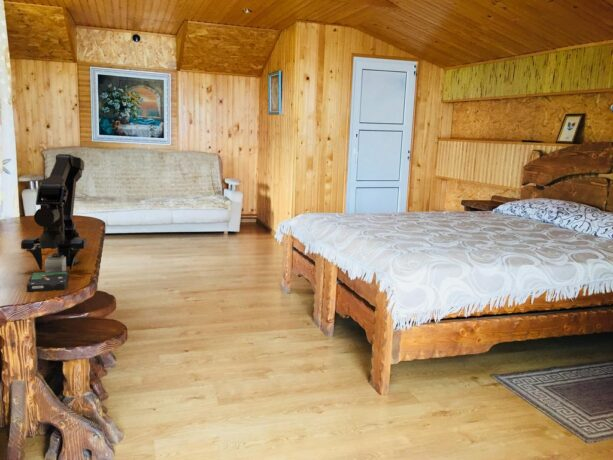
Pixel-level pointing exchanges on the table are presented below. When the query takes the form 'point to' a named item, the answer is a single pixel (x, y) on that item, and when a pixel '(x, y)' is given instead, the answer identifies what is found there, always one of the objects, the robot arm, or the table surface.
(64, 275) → the disk drive
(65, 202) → the robot arm
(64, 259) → the housing
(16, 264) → the table surface
